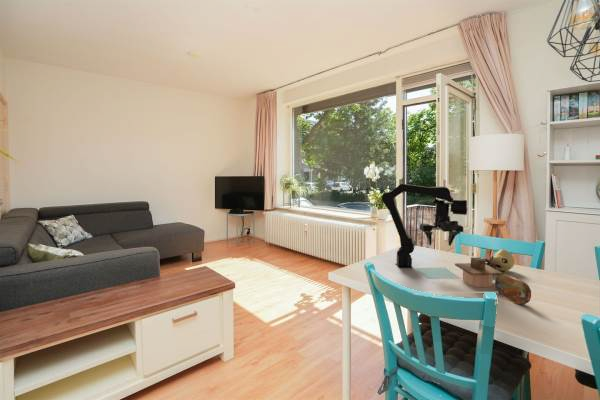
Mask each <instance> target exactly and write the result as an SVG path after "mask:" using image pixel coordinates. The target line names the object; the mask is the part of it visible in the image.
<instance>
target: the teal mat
mask: <svg viewBox="0 0 600 400" xmlns="http://www.w3.org/2000/svg"><path fill="white" fill-rule="evenodd" d="M415 269H416V270H417V272H419V273H420V274H421V275H422V276H423V277H424V278H426V279H427V280H438V279H439V280H441V279H442V280H443V279H444V280H446V279H447V280H449V279H450V280H451V279H453V280H454V279H455V280H457V279H462V278H461V277H460V276H458V275H457V274H456V273H454V272H452V271H451V270H449V269H448V268H447V267H415Z"/></svg>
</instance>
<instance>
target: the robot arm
mask: <svg viewBox="0 0 600 400" xmlns="http://www.w3.org/2000/svg"><path fill="white" fill-rule="evenodd" d="M402 193H413V194H417V195H419V194H420V195H426V196H430V197H432V198H434V199H433V201H431V204H435V214H434V216H433V217H434V222H433V225H431V224H430V223H420V224H419V229H418V230H420V231H422V232H424V235H425V236H426V240H427V242H428V245H429V246H432V234H433V230H439V231H440V230H441V231H442V232H444V233H446V232H448V238H447V239H448V246H450V247H451V245H452V243H453V241H454V240H455V238H456V236H457V235H460V234H461V233H464V226H462V225H460V224H459V222H458V221H457V220H451V216H449V215H450V214H449V213H450V212H451V213H452V215H460V216H461V215H462V216H467V213H468V200H466V199H454V197H452V196H451V191H450V189H449V188H448V187H447V186H424V185H423V186H422V185H415V184H407V183H403V182H402V183H400V184H398V186H396V187H395V188H393V189H391V190H390V191H386V192H384V193H383V194H382V196H381V201H382V203H383V204H384V206H385V207H386V209H387V210H388V211H389V213H390V215H391V216H390V217H391V218H392V222H393V224H394V225H395V228H396V230H397V233H398V235H399V242H400V247H398V249H397V251H396V263H395V266H397V267H398V268H399V269H412V268H413V267H412V265H413V258H412V255H411V254H412V253H413V252H414V249H415V248H416V242H415V240H414V237H413V235H409V234H408V232H407V229H406V227H405V224H404V221H403V219H402V216H401V214H400V211H399V210H398V207H397V206H398V205H397V198H396V197H398V196H399V195H400V194H402ZM445 200H446V202H445Z"/></svg>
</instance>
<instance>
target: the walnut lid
mask: <svg viewBox="0 0 600 400" xmlns="http://www.w3.org/2000/svg"><path fill="white" fill-rule="evenodd" d="M486 263H487V262H486V260H484V259H482V257H471V258H470V262H469V263H468V262H467V263H466V262H465V263H463V262H459V263H454V266H455V267H457V268H458V269H460V270H462V271H463V270H464V271H465V272H467V273H468V274H470V275H493V276H498V275H500V274H503V275H504V273H503V271H499V270H496V269H494V268H492V267H490V266H488V265H486Z"/></svg>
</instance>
